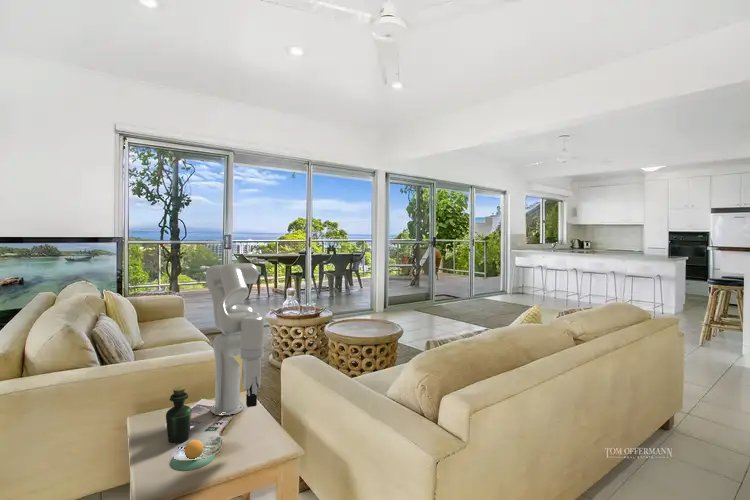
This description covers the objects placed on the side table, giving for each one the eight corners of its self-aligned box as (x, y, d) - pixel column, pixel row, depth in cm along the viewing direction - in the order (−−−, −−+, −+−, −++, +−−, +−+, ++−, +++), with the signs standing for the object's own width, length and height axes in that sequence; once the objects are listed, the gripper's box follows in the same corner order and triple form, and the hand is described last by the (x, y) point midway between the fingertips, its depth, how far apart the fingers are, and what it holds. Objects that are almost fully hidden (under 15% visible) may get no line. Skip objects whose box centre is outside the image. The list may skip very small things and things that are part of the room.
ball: (195, 454, 128) (180, 449, 126) (206, 439, 129) (191, 434, 127) (197, 465, 124) (181, 459, 121) (207, 449, 125) (192, 443, 122)
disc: (170, 453, 128) (170, 452, 128) (213, 444, 134) (213, 443, 134) (169, 474, 116) (169, 474, 116) (216, 464, 122) (216, 463, 122)
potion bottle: (196, 438, 138) (196, 387, 137) (173, 448, 131) (174, 394, 130) (183, 431, 142) (183, 382, 142) (160, 440, 135) (161, 389, 135)
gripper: (237, 348, 138) (236, 399, 138) (244, 359, 125) (243, 416, 125) (259, 345, 141) (258, 396, 142) (267, 357, 128) (267, 412, 129)
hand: (251, 405), depth 134 cm, fingers closed
